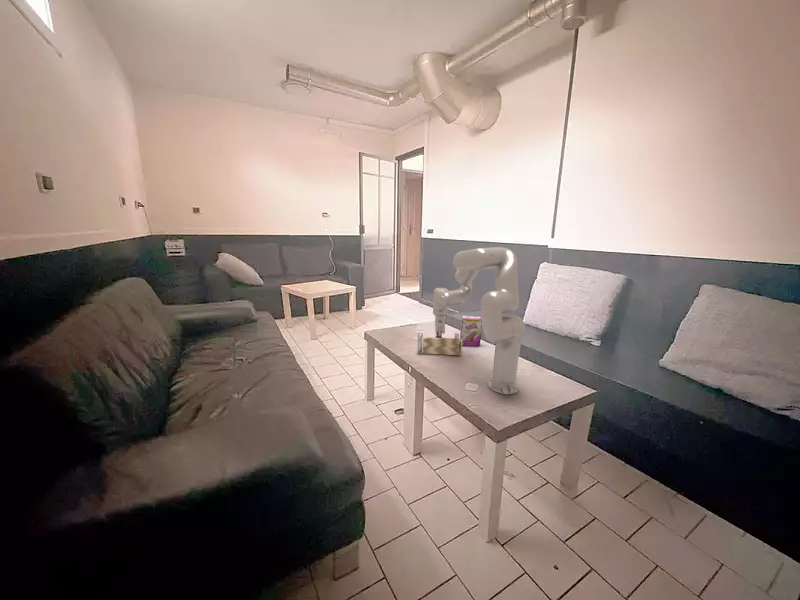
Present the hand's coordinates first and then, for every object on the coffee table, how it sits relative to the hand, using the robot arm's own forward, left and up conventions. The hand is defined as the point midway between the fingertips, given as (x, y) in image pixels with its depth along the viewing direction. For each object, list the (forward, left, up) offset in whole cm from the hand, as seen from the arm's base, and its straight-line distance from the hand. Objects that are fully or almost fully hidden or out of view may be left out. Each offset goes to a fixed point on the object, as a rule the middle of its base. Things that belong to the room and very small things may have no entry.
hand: (438, 343), depth 171 cm
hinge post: (-7, +10, -3) cm, 13 cm away
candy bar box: (+8, -18, -3) cm, 20 cm away
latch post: (-5, -9, -3) cm, 11 cm away
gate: (-7, -2, -3) cm, 8 cm away
